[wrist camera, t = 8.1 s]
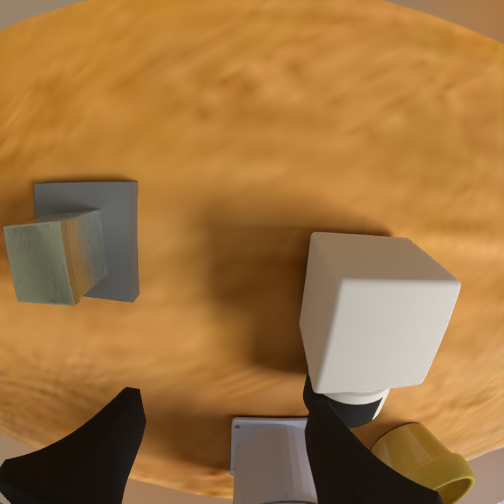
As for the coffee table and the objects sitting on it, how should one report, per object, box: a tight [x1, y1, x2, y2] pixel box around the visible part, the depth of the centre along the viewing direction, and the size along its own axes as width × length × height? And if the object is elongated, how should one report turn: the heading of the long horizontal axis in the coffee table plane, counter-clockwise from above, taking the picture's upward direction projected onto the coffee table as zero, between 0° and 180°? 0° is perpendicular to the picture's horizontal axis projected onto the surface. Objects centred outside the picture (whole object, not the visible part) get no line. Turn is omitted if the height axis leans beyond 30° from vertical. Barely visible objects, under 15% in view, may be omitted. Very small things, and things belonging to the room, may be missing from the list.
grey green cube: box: [3, 209, 108, 306], centre depth 17 cm, size 5×5×5 cm
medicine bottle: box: [299, 232, 461, 428], centre depth 18 cm, size 7×7×12 cm
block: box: [34, 181, 139, 302], centre depth 20 cm, size 8×8×2 cm
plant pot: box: [371, 423, 475, 504], centre depth 22 cm, size 10×10×10 cm
